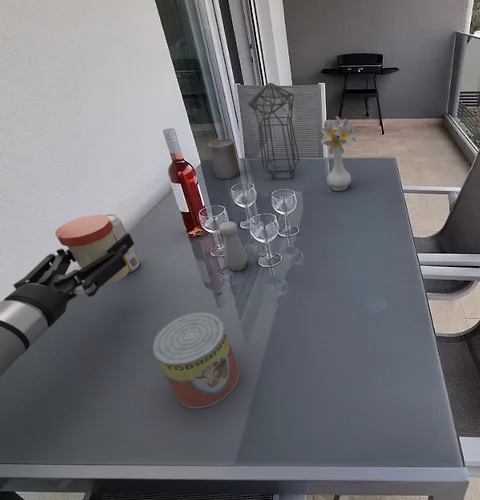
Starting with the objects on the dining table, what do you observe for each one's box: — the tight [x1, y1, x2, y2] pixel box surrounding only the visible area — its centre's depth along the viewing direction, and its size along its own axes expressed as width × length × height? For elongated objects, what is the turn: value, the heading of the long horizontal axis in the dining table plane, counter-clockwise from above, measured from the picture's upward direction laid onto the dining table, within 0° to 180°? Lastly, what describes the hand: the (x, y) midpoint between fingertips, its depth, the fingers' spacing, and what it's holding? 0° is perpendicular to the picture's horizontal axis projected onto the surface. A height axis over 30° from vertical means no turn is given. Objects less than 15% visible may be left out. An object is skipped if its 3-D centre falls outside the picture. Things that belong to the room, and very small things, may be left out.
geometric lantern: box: [247, 82, 300, 180], centre depth 135 cm, size 16×16×35 cm
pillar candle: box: [207, 138, 241, 180], centre depth 142 cm, size 10×10×15 cm
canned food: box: [151, 311, 240, 410], centre depth 61 cm, size 11×11×12 cm
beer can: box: [103, 213, 140, 274], centre depth 90 cm, size 6×6×15 cm
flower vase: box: [319, 115, 357, 192], centre depth 125 cm, size 13×18×25 cm
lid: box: [55, 214, 113, 247], centre depth 68 cm, size 9×9×2 cm
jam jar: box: [66, 232, 129, 287], centre depth 71 cm, size 8×8×12 cm
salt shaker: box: [219, 221, 249, 272], centre depth 90 cm, size 6×6×13 cm
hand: (111, 238), depth 75 cm, fingers closed on jam jar, 8 cm apart
